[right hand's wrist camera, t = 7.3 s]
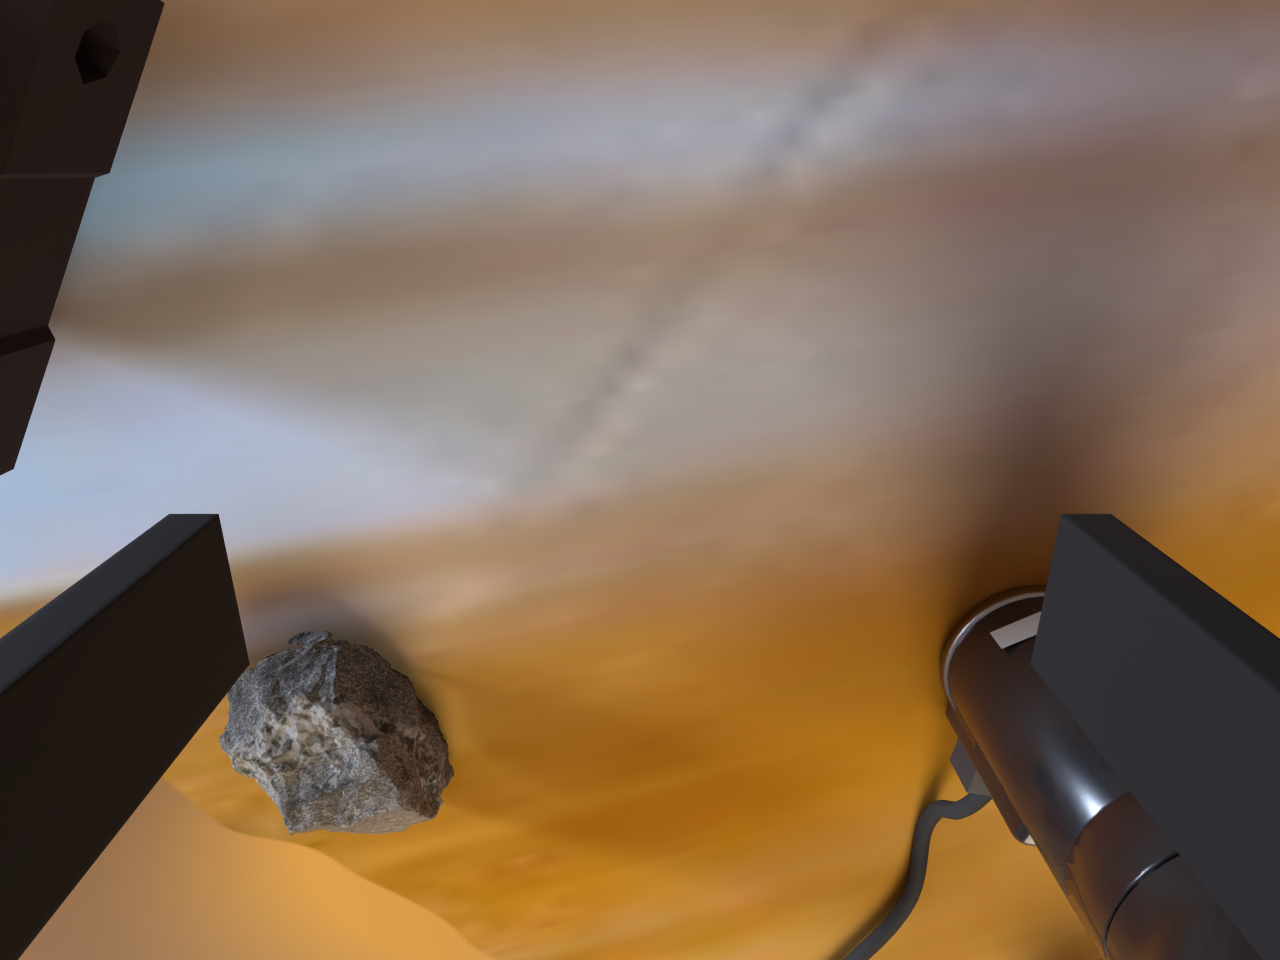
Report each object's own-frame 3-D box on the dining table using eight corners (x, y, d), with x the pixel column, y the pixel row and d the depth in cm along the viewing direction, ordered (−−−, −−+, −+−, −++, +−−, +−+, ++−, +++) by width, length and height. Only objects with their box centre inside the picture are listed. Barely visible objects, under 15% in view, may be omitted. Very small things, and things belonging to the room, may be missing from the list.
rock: (221, 695, 46) (159, 775, 40) (299, 590, 44) (246, 658, 38) (419, 809, 49) (389, 900, 43) (502, 717, 47) (483, 798, 41)
